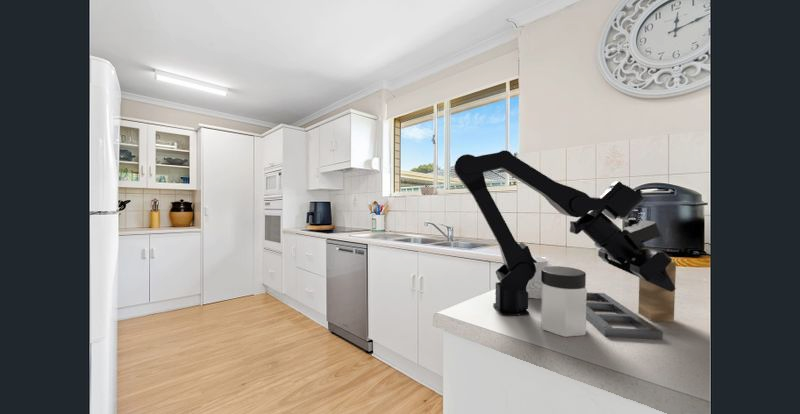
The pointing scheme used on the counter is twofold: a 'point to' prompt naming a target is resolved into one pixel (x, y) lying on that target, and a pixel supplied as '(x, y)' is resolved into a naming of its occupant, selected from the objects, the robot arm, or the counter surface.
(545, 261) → the white cup
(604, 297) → the rail plate
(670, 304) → the oak block
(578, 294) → the jar
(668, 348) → the counter surface
